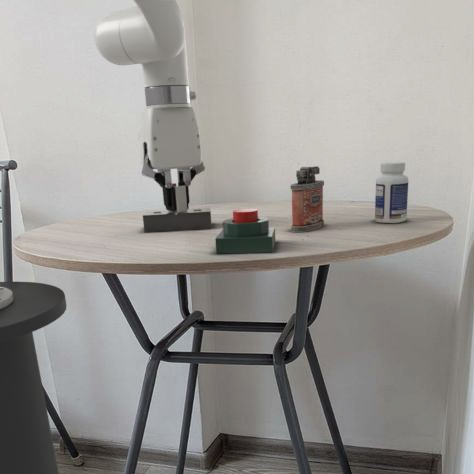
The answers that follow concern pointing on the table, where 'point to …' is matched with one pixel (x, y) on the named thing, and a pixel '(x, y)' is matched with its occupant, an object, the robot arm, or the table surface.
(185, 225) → the panel
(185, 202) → the light grey block
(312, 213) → the lighter
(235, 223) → the green button base
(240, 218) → the stop button
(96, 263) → the table surface
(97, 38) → the robot arm
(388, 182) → the pill bottle
